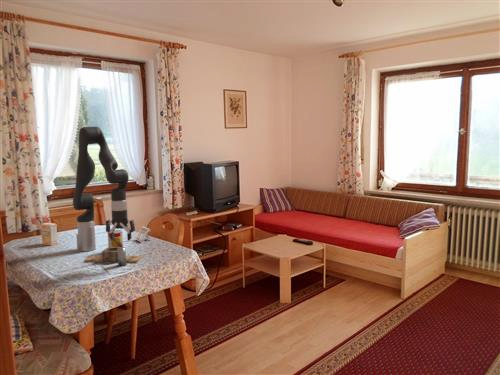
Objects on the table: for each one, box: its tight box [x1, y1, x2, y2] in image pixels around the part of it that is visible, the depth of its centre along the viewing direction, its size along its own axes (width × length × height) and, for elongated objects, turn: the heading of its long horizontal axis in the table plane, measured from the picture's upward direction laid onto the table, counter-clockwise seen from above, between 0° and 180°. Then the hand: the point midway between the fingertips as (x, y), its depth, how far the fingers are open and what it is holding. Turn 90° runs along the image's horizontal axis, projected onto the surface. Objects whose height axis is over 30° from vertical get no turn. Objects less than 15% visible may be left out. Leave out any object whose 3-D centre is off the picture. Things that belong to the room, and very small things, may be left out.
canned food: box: [107, 229, 124, 248], centre depth 223 cm, size 8×8×12 cm
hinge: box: [84, 247, 143, 264], centre depth 209 cm, size 28×8×6 cm, turn 86°
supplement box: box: [40, 222, 59, 247], centre depth 241 cm, size 8×5×13 cm, turn 68°
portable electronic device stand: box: [134, 226, 151, 243], centre depth 248 cm, size 9×8×8 cm
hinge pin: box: [117, 246, 127, 267], centre depth 200 cm, size 4×4×9 cm
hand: (120, 240), depth 199 cm, fingers open, 8 cm apart
